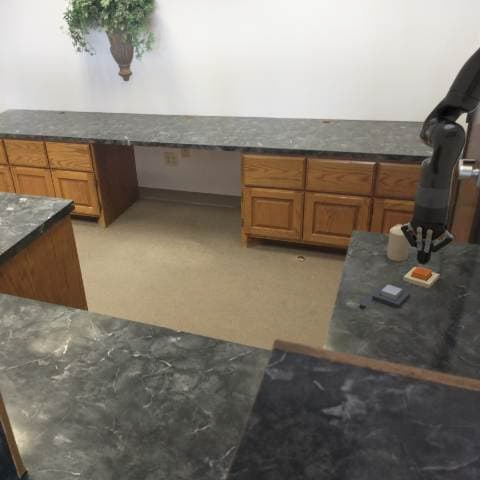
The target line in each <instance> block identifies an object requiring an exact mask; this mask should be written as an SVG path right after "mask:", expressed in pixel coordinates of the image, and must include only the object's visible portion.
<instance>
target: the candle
mask: <svg viewBox="0 0 480 480" xmlns="http://www.w3.org/2000/svg"><path fill="white" fill-rule="evenodd" d="M403 225H404V224H401V223H397V224H396V225H394V226H392V227H391V228H390V229H389V234H388V235H389V236H388V245H387V256H386V257H387V259H389V260H391V261H394V262H405V261H408V258H409V253H410V246H411V245H410V244H409V242H408V240H407V239H406V237H405V235H404V234H403V232H402V230H401V227H402V226H403Z"/></svg>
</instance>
